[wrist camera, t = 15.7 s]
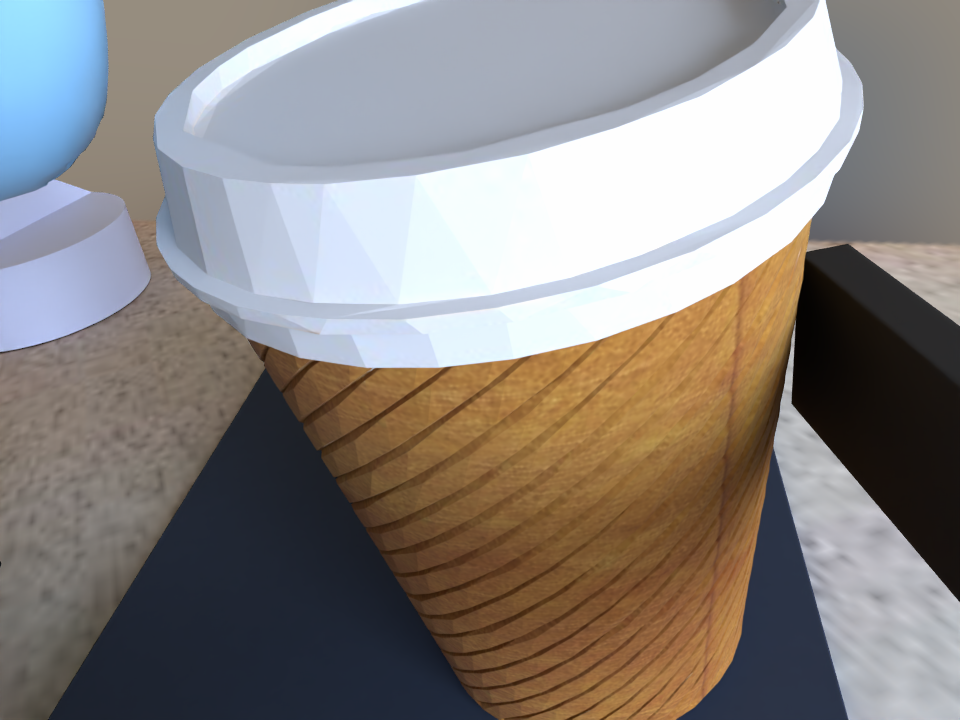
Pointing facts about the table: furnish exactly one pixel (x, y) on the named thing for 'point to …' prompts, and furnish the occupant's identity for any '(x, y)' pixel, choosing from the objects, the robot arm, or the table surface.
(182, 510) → the mat
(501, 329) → the disposable coffee cup
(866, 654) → the table surface
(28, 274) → the wedge on round base
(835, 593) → the table surface
